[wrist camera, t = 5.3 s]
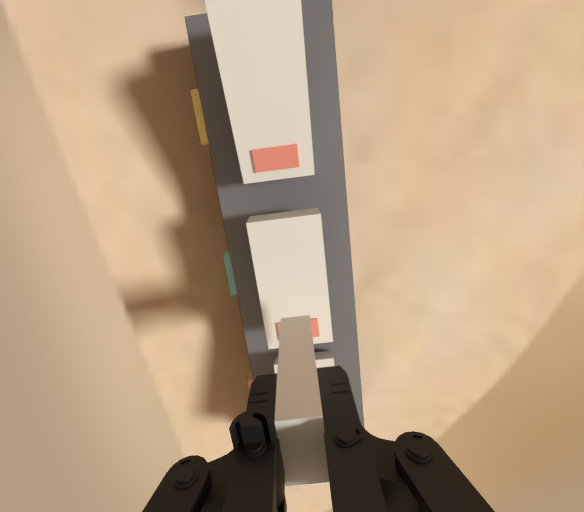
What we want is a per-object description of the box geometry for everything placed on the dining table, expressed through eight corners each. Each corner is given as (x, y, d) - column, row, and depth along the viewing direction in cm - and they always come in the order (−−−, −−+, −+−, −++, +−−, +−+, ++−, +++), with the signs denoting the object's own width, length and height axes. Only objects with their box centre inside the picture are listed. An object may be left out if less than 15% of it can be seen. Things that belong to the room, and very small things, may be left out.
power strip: (173, -71, 18) (136, -147, 14) (314, -93, 18) (322, -178, 14) (263, 416, 28) (258, 462, 24) (356, 406, 28) (368, 450, 23)
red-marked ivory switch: (211, 5, 14) (203, 0, 13) (297, -7, 14) (300, -15, 12) (246, 173, 19) (243, 185, 17) (311, 164, 19) (314, 175, 17)
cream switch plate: (250, 216, 18) (245, 223, 16) (317, 207, 18) (321, 214, 16) (270, 332, 21) (268, 350, 19) (329, 325, 20) (333, 343, 19)
